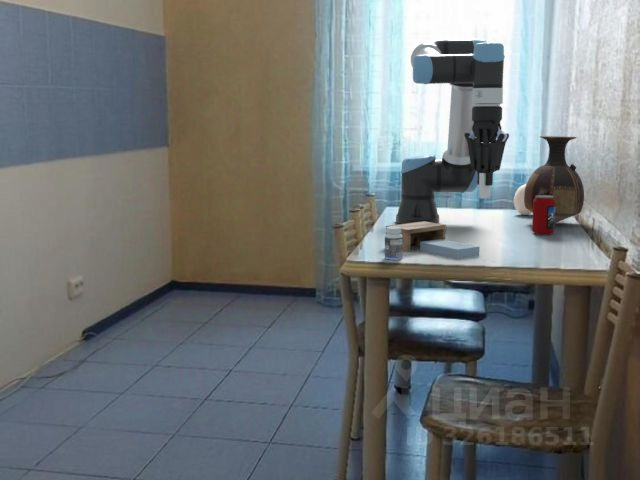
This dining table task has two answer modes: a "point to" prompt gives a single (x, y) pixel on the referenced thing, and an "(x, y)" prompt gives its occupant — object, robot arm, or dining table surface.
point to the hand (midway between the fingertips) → (484, 197)
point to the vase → (556, 181)
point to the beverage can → (543, 215)
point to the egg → (521, 201)
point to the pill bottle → (393, 243)
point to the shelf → (420, 233)
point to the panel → (449, 248)
